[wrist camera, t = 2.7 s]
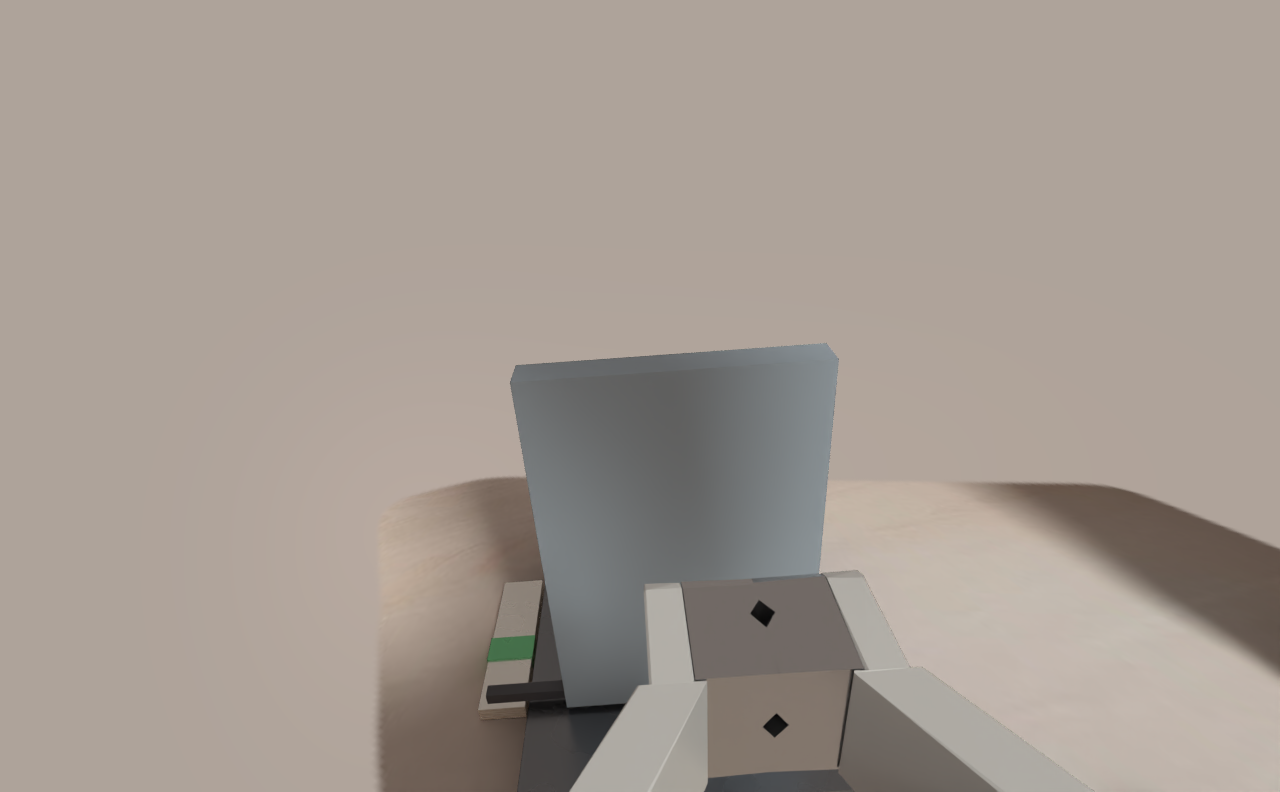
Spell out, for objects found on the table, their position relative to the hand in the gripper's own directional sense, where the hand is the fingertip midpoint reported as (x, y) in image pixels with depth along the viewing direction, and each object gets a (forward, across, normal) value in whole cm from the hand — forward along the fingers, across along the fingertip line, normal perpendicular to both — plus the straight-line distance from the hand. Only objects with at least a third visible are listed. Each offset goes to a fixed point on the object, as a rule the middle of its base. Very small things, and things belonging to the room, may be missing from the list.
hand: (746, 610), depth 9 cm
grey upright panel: (+15, +2, +21) cm, 26 cm away
